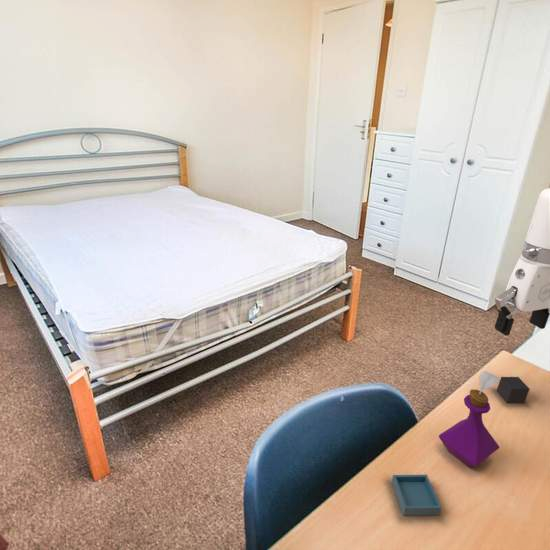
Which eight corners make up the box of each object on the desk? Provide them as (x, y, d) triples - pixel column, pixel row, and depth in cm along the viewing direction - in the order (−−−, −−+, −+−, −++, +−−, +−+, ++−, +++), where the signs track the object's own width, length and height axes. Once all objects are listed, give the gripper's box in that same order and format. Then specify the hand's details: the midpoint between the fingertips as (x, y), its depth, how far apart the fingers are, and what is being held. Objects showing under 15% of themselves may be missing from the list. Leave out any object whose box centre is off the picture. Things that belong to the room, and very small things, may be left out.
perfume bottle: (471, 479, 66) (499, 398, 59) (434, 448, 72) (455, 371, 64) (495, 460, 70) (524, 381, 62) (458, 432, 75) (481, 357, 68)
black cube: (513, 390, 87) (518, 376, 86) (524, 403, 84) (529, 388, 82) (496, 390, 87) (501, 376, 85) (506, 403, 83) (511, 388, 82)
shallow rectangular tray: (424, 481, 65) (426, 474, 64) (439, 515, 60) (441, 507, 59) (391, 482, 65) (393, 474, 64) (403, 515, 60) (405, 508, 59)
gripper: (528, 264, 68) (502, 344, 75) (596, 256, 73) (565, 332, 80) (494, 250, 75) (473, 325, 82) (558, 243, 80) (533, 314, 87)
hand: (519, 328), depth 81 cm, fingers open, 9 cm apart
